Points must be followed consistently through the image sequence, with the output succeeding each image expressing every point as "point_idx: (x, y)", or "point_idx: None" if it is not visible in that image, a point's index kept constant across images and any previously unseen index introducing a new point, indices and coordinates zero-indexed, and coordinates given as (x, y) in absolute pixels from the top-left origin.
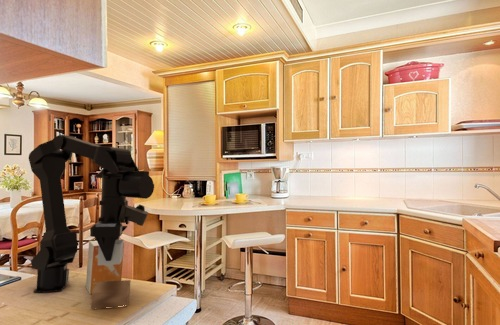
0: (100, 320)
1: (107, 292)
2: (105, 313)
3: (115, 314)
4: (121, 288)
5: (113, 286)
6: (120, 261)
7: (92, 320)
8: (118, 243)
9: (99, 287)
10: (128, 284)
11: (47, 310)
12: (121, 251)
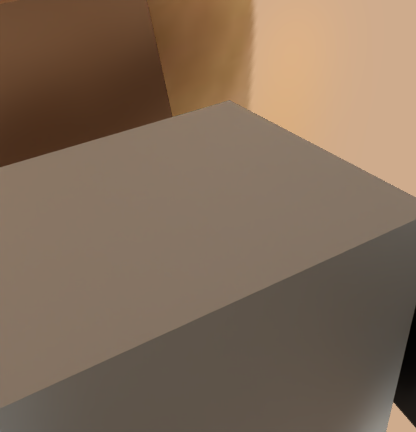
0: (251, 67)
1: (169, 116)
2: (191, 74)
3: (201, 16)
4: (108, 43)
5: (82, 119)
6: (189, 119)
7: (249, 102)
8: (386, 272)
9: None
10: (11, 11)
11: None
12: (189, 181)
